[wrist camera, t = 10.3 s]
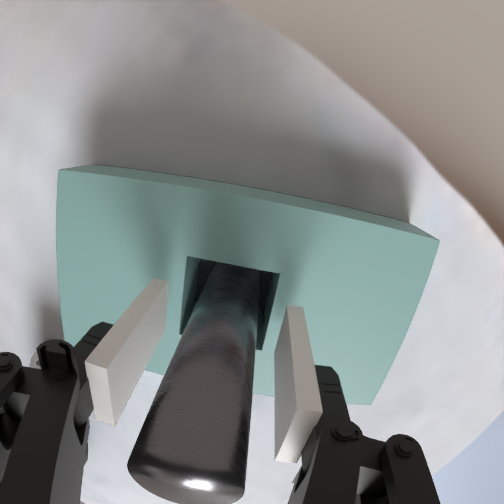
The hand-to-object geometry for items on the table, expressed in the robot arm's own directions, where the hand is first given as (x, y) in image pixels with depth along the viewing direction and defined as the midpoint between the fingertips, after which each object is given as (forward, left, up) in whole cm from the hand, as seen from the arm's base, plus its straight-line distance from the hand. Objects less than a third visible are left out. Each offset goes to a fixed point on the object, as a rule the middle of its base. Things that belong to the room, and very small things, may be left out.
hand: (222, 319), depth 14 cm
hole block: (0, 0, -5) cm, 5 cm away
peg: (0, 0, -5) cm, 5 cm away
